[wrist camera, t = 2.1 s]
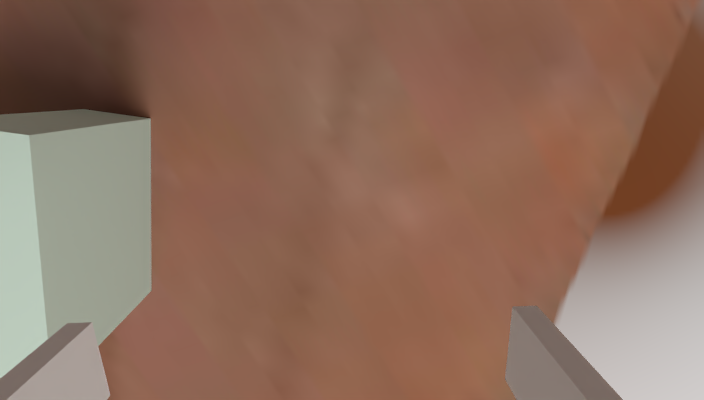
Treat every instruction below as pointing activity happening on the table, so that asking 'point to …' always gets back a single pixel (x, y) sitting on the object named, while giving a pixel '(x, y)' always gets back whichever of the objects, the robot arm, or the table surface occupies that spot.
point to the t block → (71, 224)
